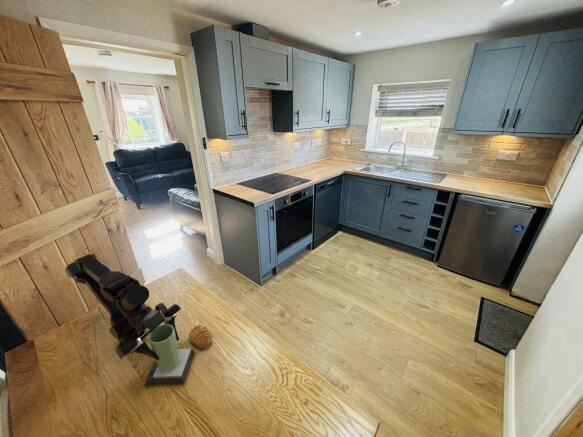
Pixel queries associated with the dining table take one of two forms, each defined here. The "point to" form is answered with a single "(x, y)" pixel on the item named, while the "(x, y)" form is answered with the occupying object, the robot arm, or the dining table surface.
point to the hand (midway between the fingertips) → (168, 349)
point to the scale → (174, 375)
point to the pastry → (200, 336)
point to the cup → (165, 347)
